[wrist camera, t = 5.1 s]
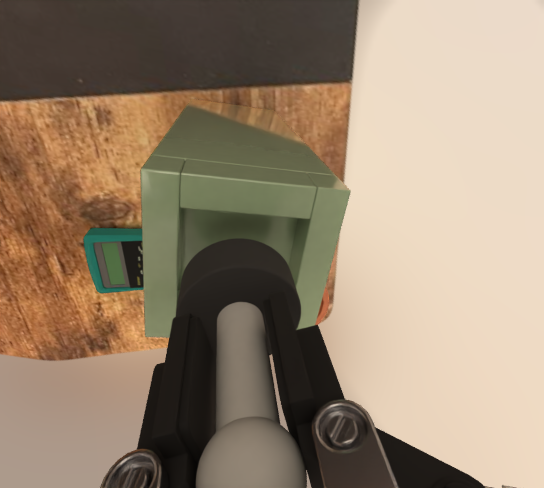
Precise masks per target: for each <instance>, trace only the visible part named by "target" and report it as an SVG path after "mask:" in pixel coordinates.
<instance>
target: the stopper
mask: <svg viewBox="0 0 544 488" xmlns="http://www.w3.org/2000/svg"><path fill="white" fill-rule="evenodd" d="M279 291H285V294H286V298H287V302H288V305H289V309H290V313H291V316H292V320H293V324H294V327H295V330H297V328H298V325H299V322H300V318H301V303H300V299H299V296H298V293H297V289H296V286H295V283H294V280H293V277H292V274H291V271H290V268H289V266H288V264H287V262H286V261H285V259H284V258H283V257H282V256H281V255H280V254H279V253H278V252H277V251H276V250H275V249H273V248H272V247H270V246H268V245H266V244H264V243H261V242H259V241H255V240H251V239H244V238H235V239H227V240H222V241H219V242H216V243H213V244H211V245H209V246H207V247H205V248H204V249H202V250H201V251H199V252H198V253H197V254H196V255H195V256H194V257H193V258H192V259H191V260H190V262H189V263H188V265H187V266H186V268H185V270H184V272H183V276H182V280H181V285H180V291H179V297H178V302H177V308H176V317H178V316H182V315H186V314H190V313H191V314H192V315H193V317H196V316H199V318H200V320H201V322H202V325H203V327H204V330H205V332H206V335H207V337H208V340H209V342H210V345H211V347H212V350H213V352H214V355H215V357H216V431H215V434H214V435H213V437H212V438H211V439H210V441H209V442H208V444H207V445H206V447H205V449H204V451H203V453H202V456H201V458H200V461H199V465H198V469H197V474H196V488H306V487H307V476H306V475H307V474H306V467H305V462H304V459H303V455H302V453H301V450H300V448H299V446H298V444H297V443H296V441H295V439H294V438H293V437H292V436H291V434H290V433H289V432H288V431H287V430H286V429H285V428H284V427H283V426H281V425H280V420H279V413H278V407H277V401H276V395H275V389H274V382H273V376H272V370H271V364H270V358H269V355H271V354H272V350H271V344H270V338H269V333H268V327H267V321H266V315H265V310H264V304H263V300H266V299H269V295H268V294H271V293H275V292H279Z"/></svg>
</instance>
